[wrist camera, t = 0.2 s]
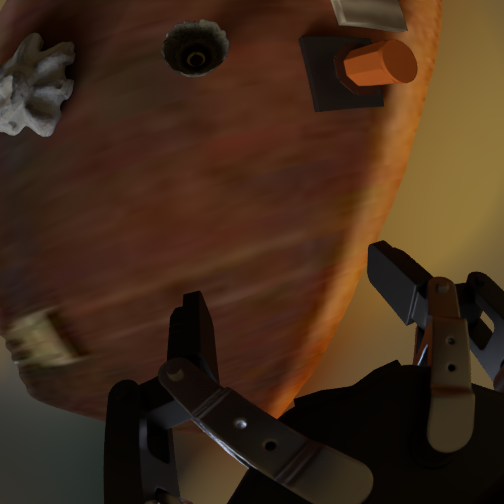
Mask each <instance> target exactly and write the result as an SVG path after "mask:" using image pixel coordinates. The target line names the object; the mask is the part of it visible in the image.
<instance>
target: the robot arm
mask: <svg viewBox="0 0 504 504" xmlns="http://www.w3.org/2000/svg"><path fill="white" fill-rule="evenodd" d="M367 274H368V278H369V281H370V282H371V284H372V285H373V286H374V287H375V288H376V289H377V291H378V292H379V293H380V294H381V295H382V296H383V298H384V299H385V300H386V301H387V303H388V304H389V305H390V306H391V307H392V308H393V309H394V311H395V312H396V313H397V315H398V316H399V317H400V318H401V319H402V321H403V322H404V323H405V325H406V326H407V325H409V324H412V323H414V322H416V324H417V327H416V335H415V348H414V358H413V364H412V365H403V366H401V364H400V363H399V362H398V360H395V361H393V362H391V363H388V364H386V365H384V366H382V367H379V368H377V369H375V370H373V371H372V372H371V373H369V374H368V375H367V376H366V377H364V378H363V379H361V380H360V381H359V382H357V383H356V384H354V385H352V386H349V387H343V388H335V389H328V390H321V391H318V392H315V393H312V394H308V395H305V396H302V397H299V398H295V399H294V404H295V407H293V408H291V409H289V410H288V411H287V412H285V413H284V414H283V415H282V416H280V417H279V418H278V419H275V418H274V417H272V416H271V415H269V414H268V413H266V412H265V411H263V410H262V409H260V408H259V407H257V406H256V405H254V404H253V403H251V402H250V401H248V400H247V399H246V398H244V397H243V396H241V395H240V394H238V393H237V392H236V391H234V390H233V389H231V388H229V387H226V388H223V387H222V386H220V382H219V374H218V365H217V356H216V346H215V336H214V327H213V322H212V319H211V316H210V313H209V311H208V308H207V306H206V303H205V301H204V298H203V296H202V293H201V291H196V292H192V293H188V294H184V295H183V306H182V307H178V308H175V310H174V311H173V313H172V315H171V316H170V327H169V338H168V351H167V362H165V363H164V364H163V365H162V366H161V368H160V369H159V372H158V376H157V377H155V378H153V379H151V380H149V381H147V382H145V383H142V384H140V385H138V384H137V383H136V382H134V381H132V380H123V381H120V382H118V383H117V384H115V385H114V386H113V387H112V389H111V390H110V392H109V396H108V404H107V414H106V427H105V442H104V504H193V503H192V502H190V501H189V500H186V499H183V498H180V491H179V485H178V479H177V470H176V462H175V454H174V444H173V434H172V427H174V426H176V425H179V424H181V423H183V422H185V421H187V420H190V419H192V420H193V421H194V422H195V423H196V424H197V425H198V426H199V427H200V428H201V429H202V430H203V431H205V432H206V433H207V434H208V435H209V436H210V437H211V438H212V439H214V440H215V441H216V442H217V443H218V444H219V445H220V446H222V447H223V448H224V449H225V450H226V451H227V452H228V453H230V454H231V455H232V456H233V457H234V458H236V459H237V460H238V461H239V462H241V463H242V464H243V465H244V466H246V467H247V468H248V470H247V472H246V473H245V475H244V477H243V478H242V480H241V482H240V484H239V485H238V487H237V488H236V490H235V492H234V493H233V495H232V496H231V498H230V500H229V501H228V503H227V504H504V291H503V290H502V289H501V288H500V287H499V286H498V285H497V284H496V283H495V282H494V281H493V280H492V279H491V278H490V277H488V276H487V275H486V274H484V273H481V272H471V273H470V274H469V275H468V278H467V281H466V283H460V284H454V283H453V282H452V281H451V280H449V279H447V278H445V277H433V276H432V275H431V274H430V273H428V272H427V271H426V270H425V269H424V268H423V267H421V265H419V264H418V263H416V261H415V260H413V259H412V258H411V257H410V256H409V255H408V254H406V253H405V252H404V251H402V250H400V249H397V248H393V247H392V246H390V245H389V244H388V243H387V242H386V241H384V240H382V241H379V242H376V243H372V244H370V245H369V247H368V265H367ZM483 311H484V312H485V313H486V314H487V315H488V317H489V318H490V319H491V320H492V321H493V323H494V328H495V329H494V332H493V333H492V331H491V330H490V329H489V328H488V327H487V325H486V324H485V323H484V322H483V321H482V319H481V318H480V316H481V314H482V312H483ZM470 350H471V351H472V352H473V354H474V355H475V356H476V358H477V359H478V361H479V362H480V363H481V365H482V366H483V368H484V369H485V371H486V372H487V374H488V375H489V376H490V378H491V380H492V381H493V386H494V390H491V389H488V388H485V387H482V386H479V385H476V384H473V383H471V362H470Z"/></svg>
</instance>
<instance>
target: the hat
mask: <svg viewBox="0 0 504 504" xmlns="http://www.w3.org/2000/svg"><path fill="white" fill-rule="evenodd" d="M334 57H335V58H336V59H333V61H334V65H335V69H336V74H337V78H341V79H340V82H341V83H342V84H343V85H344V86H346V87H347V88H348V89H349V90H350V91H351V92H352V93H354V94H356V92H357V95H374V93H377V92H378V90H379V88H380V87H381V85H384V84H399V83H409V82H411V81H413V80H414V78H415V77H416V74H417V62H416V59H415V56H414V54H413V53H412V51H411V50H410V48H409V47H408V46H407V45H405V44H404V43H403V42H401V41H398V40H389V41H387V40H384V41H381V42H377V43H374V44H371V45H363V43H351V42H346V45H345V44H342V46H341V47H340V48H339V50H338V51H337V52H336V54H335V55H334ZM352 80H353V81H352Z"/></svg>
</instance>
